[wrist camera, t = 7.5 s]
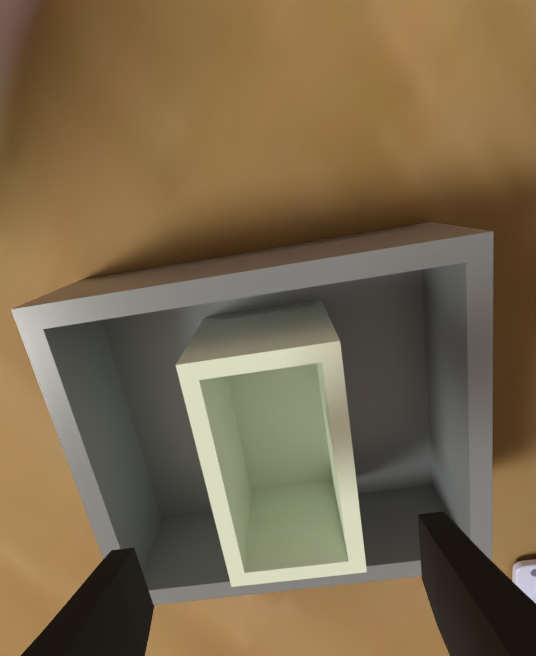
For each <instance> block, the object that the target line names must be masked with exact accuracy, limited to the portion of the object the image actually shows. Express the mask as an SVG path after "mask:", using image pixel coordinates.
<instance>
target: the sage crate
mask: <svg viewBox="0 0 536 656" xmlns="http://www.w3.org/2000/svg"><path fill="white" fill-rule="evenodd" d="M176 369H177V373H178V377H179V381H180V385H181V389H182V393H183V397H184V401H185V405H186V409H187V413H188V416H189V420H190V424H191V428H192V432H193V436H194V440H195V444H196V448H197V452H198V456H199V460H200V464H201V468H202V472H203V476H204V480H205V484H206V488H207V492H208V496H209V500H210V504H211V508H212V512H213V516H214V520H215V524H216V528H217V531H218V535H219V539H220V543H221V547H222V551H223V555H224V559H225V563H226V567H227V571H228V575H229V579H230V583H231V587H236V586H245V585H255V584H264V583H273V582H282V581H291V580H300V579H310V578H319V577H328V576H337V575H346V574H356V573H365V572H367V569H366V560H365V551H364V543H363V534H362V525H361V517H360V508H359V500H358V491H357V482H356V474H355V465H354V456H353V448H352V439H351V431H350V422H349V413H348V405H347V396H346V387H345V379H344V370H343V361H342V353H341V344H340V340H339V337H338V335H337V333H336V331H335V329H334V326H333V324H332V322H331V320H330V318H329V316H328V313H327V311H326V309H325V307H324V305H323V302H322V300H320V301H314V302H307V303H301V304H294V305H288V306H281V307H275V308H268V309H262V310H255V311H249V312H242V313H236V314H229V315H223V316H216V317H210V318H203V320H202V322H201V323H200V325H199V327H198V328H197V330H196V332H195V333H194V335H193V337H192V338H191V340H190V342H189V343H188V345H187V347H186V348H185V350H184V352H183V353H182V355H181V357H180V359H179V360H178V362H177V364H176Z"/></svg>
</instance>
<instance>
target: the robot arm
mask: <svg viewBox="0 0 536 656" xmlns="http://www.w3.org/2000/svg"><path fill="white" fill-rule="evenodd" d="M418 525H419V541H420V557H421V573H422V580H423V583H424V586H425V589H426V592H427V596H428V599H429V602H430V605H431V608H432V611H433V614H434V617H435V620H436V623H437V626H438V628H439V631H440V633H441V635H442V638H443V640H444V642H445V645H446V647H447V649H448V652H449V654H450V656H536V559H533V560H523V561H519V562H517V563H515V565H514V566H513V574H512V581H511V580H510V579H509V578H508V577H507V576H506V575H505V574H504V573H503V572H502V571H501V570H500V569H499V568H498V567H497V566H496V565H495V564H494V563H493V562H492V561H491V560H490V559H489V558H488V557H487V556H486V555H485V554H484V553H483V552H482V551H481V550H480V549H479V548H478V547H477V546H476V545H475V544H474V543H473V542H472V541H471V539H470V538H469V537H468V536H467V535H466V534H465V533H464V532H463V531H462V530H461V529H460V528H459V527H458V526H457V524H456V523H455V522H454V521H453V520H452V519H451V518H450V517H449V516H448V515H447V514H446V513H445V512H434V513H425V514H418ZM153 609H154V605H153V602H152V599H151V596H150V593H149V590H148V587H147V584H146V581H145V578H144V575H143V572H142V569H141V566H140V563H139V560H138V557H137V554H136V551H135V548H126V549H117V550H111V551H110V553H109V554H108V555H107V556H106V557H105V558H104V559H103V561H102V562H101V563H100V564H99V565H98V567H97V568H96V569H95V570H94V571H93V572H92V574H91V575H90V576H89V577H88V578H87V580H86V581H85V582H84V583H83V584H82V586H81V587H80V588H79V589H78V590H77V592H76V593H75V594H74V595H73V596H72V598H71V599H70V600H69V601H68V602H67V604H66V605H65V606H64V607H63V608H62V609H61V611H60V612H59V613H58V614H57V615H56V616H55V618H54V619H53V620H52V621H51V622H50V623H49V625H48V626H47V627H46V628H45V629H44V630H43V632H42V633H41V634H40V635H39V636H38V637H37V638H36V639H35V640H34V642H33V643H32V644H31V645H30V646H29V647H28V648H27V649H26V650H25V651H24V653H23V654H22V655H21V656H145V651H146V646H147V641H148V636H149V631H150V626H151V620H152V615H153Z"/></svg>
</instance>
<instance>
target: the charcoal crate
mask: <svg viewBox="0 0 536 656" xmlns="http://www.w3.org/2000/svg"><path fill="white" fill-rule="evenodd" d="M493 242H494V231H489V230H482V229H475V228H469V227H462V226H455V225H448V224H442V223H435V222H427V223H421V224H415V225H409V226H403V227H397V228H391V229H385V230H379V231H373V232H367V233H360V234H354V235H348V236H342V237H336V238H330V239H324V240H318V241H312V242H306V243H300V244H294V245H288V246H282V247H276V248H270V249H264V250H258V251H251V252H245V253H239V254H233V255H227V256H221V257H215V258H209V259H203V260H197V261H191V262H185V263H179V264H173V265H167V266H161V267H155V268H148V269H142V270H136V271H130V272H124V273H118V274H112V275H106V276H100V277H94V278H88V279H82V280H80V281H78V282H75V283H73V284H70V285H68V286H66V287H63V288H61V289H58V290H56V291H54V292H51V293H49V294H46V295H44V296H42V297H39V298H37V299H34V300H32V301H30V302H27V303H25V304H23V305H20V306H18V307H15V308H13V309H11V311H12V313H13V316H14V319H15V321H16V324H17V327H18V330H19V332H20V335H21V338H22V340H23V343H24V346H25V348H26V351H27V354H28V357H29V359H30V362H31V365H32V367H33V370H34V373H35V375H36V378H37V381H38V383H39V386H40V389H41V392H42V394H43V397H44V400H45V402H46V405H47V408H48V410H49V413H50V416H51V419H52V421H53V424H54V427H55V429H56V432H57V435H58V437H59V440H60V443H61V446H62V448H63V451H64V454H65V456H66V459H67V462H68V464H69V467H70V470H71V472H72V475H73V478H74V481H75V483H76V486H77V489H78V491H79V494H80V497H81V499H82V502H83V505H84V508H85V510H86V513H87V516H88V518H89V521H90V524H91V526H92V529H93V532H94V535H95V537H96V540H97V543H98V545H99V548H100V551H101V553H102V556H103V559H104V558H105V557H106V556H107V555H108V554H109V553H110V551H111V550H117V549H126V548H135V551H136V554H137V557H138V560H139V563H140V566H141V569H142V572H143V575H144V578H145V581H146V584H147V587H148V590H149V593H150V596H151V599H152V602H153V605H158V604H167V603H177V602H186V601H195V600H204V599H214V598H223V597H232V596H241V595H250V594H260V593H269V592H278V591H287V590H297V589H306V588H315V587H324V586H334V585H343V584H352V583H361V582H371V581H380V580H389V579H398V578H407V577H417V576H422V573H421V557H420V541H419V525H418V514H425V513H434V512H445V513H446V514H447V515H448V516H449V517H450V518H451V519H452V520H453V521H454V522H455V523H456V524H457V526H458V527H459V528H460V529H461V530H462V531H463V532H464V533H465V534H466V535H467V536H468V537H469V538H470V539H471V541H472V542H473V543H474V544H475V545H476V546H477V547H478V548H479V549H480V550H481V551H482V552H483V553H484V554H485V555H486V556H487V557H488V558H489V559H490V560H491V561H492V450H493ZM320 300H322V302H323V305H324V307H325V309H326V311H327V313H328V316H329V318H330V320H331V322H332V324H333V326H334V329H335V331H336V333H337V335H338V337H339V340H340V344H341V353H342V361H343V370H344V379H345V387H346V396H347V405H348V413H349V422H350V431H351V439H352V448H353V456H354V465H355V474H356V482H357V491H358V500H359V508H360V517H361V525H362V534H363V543H364V551H365V560H366V569H367V572H365V573H356V574H346V575H337V576H328V577H319V578H310V579H300V580H291V581H282V582H273V583H264V584H255V585H245V586H236V587H231V583H230V579H229V575H228V571H227V567H226V563H225V559H224V555H223V551H222V547H221V543H220V539H219V535H218V531H217V528H216V524H215V520H214V516H213V512H212V508H211V504H210V500H209V496H208V492H207V488H206V484H205V480H204V476H203V472H202V468H201V464H200V460H199V456H198V452H197V448H196V444H195V440H194V436H193V432H192V428H191V424H190V420H189V416H188V413H187V409H186V405H185V401H184V397H183V393H182V389H181V385H180V381H179V377H178V373H177V369H176V364H177V362H178V360H179V359H180V357H181V355H182V353H183V352H184V350H185V348H186V347H187V345H188V343H189V342H190V340H191V338H192V337H193V335H194V333H195V332H196V330H197V328H198V327H199V325H200V323H201V322H202V320H203V318H210V317H216V316H223V315H229V314H236V313H242V312H249V311H255V310H262V309H268V308H275V307H281V306H288V305H294V304H301V303H307V302H314V301H320Z"/></svg>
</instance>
